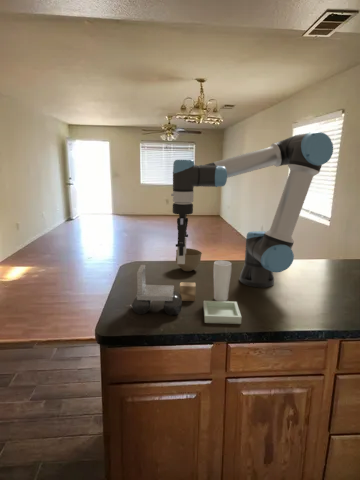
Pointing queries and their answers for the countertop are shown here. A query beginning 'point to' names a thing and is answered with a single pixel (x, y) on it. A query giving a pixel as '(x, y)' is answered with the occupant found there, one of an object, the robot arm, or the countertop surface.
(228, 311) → the tray
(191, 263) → the bowl
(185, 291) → the wooden block
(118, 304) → the countertop surface
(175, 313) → the grey toy cart
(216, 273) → the drinking glass
